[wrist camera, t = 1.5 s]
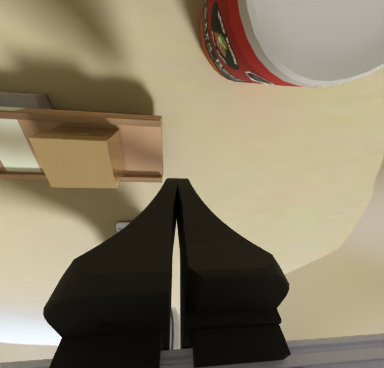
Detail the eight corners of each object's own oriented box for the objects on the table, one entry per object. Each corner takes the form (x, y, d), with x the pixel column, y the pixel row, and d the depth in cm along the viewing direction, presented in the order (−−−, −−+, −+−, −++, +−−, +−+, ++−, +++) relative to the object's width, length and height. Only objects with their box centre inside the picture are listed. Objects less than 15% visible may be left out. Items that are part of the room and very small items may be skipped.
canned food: (181, 1, 13) (192, -203, 3) (285, -79, 11) (819, -851, 2) (220, 99, 17) (275, 126, 7) (301, 51, 15) (503, 7, 6)
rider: (126, 170, 17) (116, 188, 14) (72, 168, 16) (51, 187, 13) (119, 129, 14) (106, 141, 12) (57, 126, 14) (28, 137, 11)
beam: (164, 173, 21) (161, 193, 17) (-80, 167, 18) (-143, 189, 14) (162, 102, 16) (158, 108, 13) (-158, 80, 14) (-274, 81, 10)
